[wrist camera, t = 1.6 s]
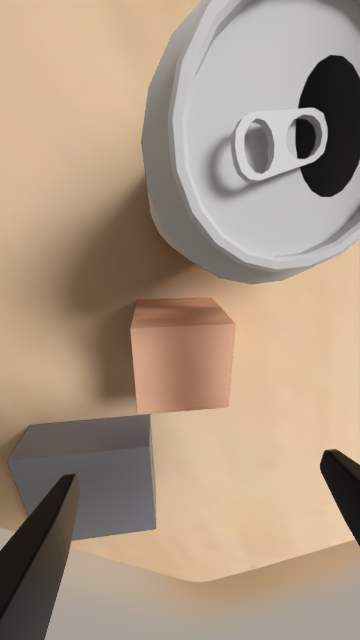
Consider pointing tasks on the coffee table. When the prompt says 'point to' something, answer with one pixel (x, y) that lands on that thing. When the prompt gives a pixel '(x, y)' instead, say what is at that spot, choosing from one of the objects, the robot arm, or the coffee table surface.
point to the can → (257, 136)
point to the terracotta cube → (181, 355)
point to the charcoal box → (92, 471)
